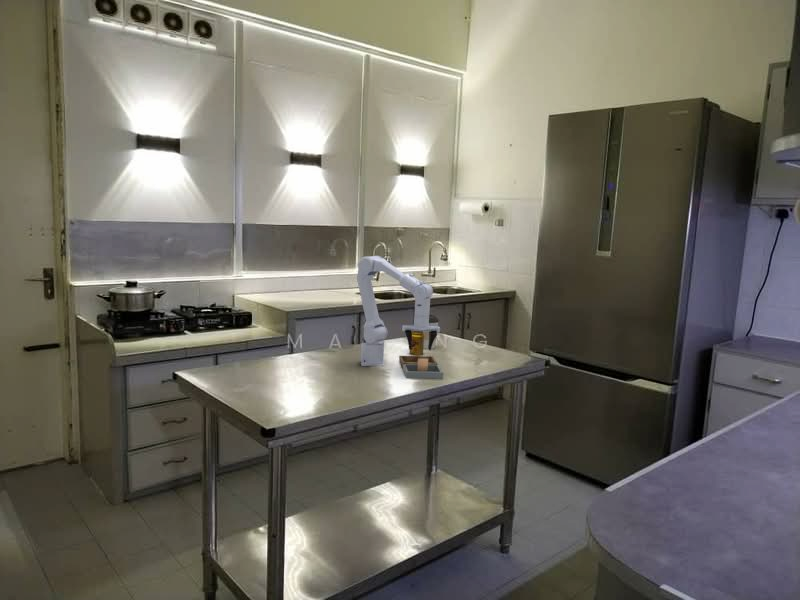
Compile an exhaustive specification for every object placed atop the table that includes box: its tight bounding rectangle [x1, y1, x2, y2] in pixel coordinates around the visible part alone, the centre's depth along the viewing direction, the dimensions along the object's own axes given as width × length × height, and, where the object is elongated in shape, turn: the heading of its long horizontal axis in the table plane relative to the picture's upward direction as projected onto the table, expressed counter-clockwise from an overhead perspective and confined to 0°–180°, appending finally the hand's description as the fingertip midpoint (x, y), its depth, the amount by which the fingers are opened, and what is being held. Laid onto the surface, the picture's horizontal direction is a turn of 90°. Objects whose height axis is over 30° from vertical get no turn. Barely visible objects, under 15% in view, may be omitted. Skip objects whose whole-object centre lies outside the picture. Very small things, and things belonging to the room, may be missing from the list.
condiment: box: [409, 331, 428, 356], centre depth 254 cm, size 7×8×12 cm
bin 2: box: [402, 364, 444, 380], centre depth 222 cm, size 14×11×3 cm
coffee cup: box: [423, 314, 440, 350], centre depth 269 cm, size 9×9×15 cm
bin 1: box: [398, 355, 439, 370], centre depth 235 cm, size 14×12×3 cm
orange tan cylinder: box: [417, 358, 428, 372], centre depth 222 cm, size 4×4×6 cm
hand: (419, 349), depth 225 cm, fingers open, 7 cm apart
